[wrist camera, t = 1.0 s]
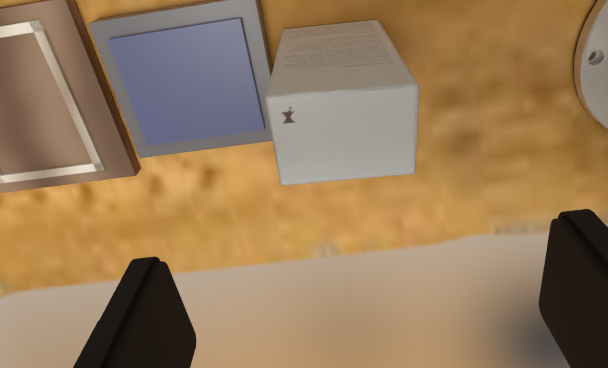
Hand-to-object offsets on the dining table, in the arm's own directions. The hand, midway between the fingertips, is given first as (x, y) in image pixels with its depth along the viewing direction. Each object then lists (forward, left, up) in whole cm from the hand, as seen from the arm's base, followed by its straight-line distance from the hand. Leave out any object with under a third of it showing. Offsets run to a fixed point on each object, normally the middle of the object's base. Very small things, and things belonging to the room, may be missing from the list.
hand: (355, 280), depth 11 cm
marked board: (+21, 0, -20) cm, 29 cm away
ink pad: (+9, 0, -20) cm, 22 cm away
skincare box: (0, 0, -20) cm, 20 cm away
